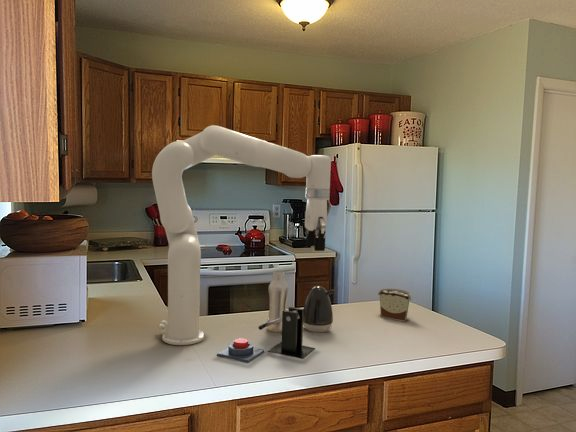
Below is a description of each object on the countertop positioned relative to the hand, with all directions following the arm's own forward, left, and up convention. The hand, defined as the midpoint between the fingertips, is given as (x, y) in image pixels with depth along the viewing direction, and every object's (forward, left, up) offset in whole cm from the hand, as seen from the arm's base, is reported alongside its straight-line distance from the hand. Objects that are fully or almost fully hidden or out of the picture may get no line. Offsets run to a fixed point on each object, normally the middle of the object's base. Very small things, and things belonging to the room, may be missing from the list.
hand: (315, 248), depth 153 cm
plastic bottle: (-11, -4, -28) cm, 31 cm away
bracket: (+1, -18, -28) cm, 34 cm away
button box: (-10, -28, -28) cm, 41 cm away
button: (-10, -28, -25) cm, 39 cm away
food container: (+19, +34, -28) cm, 48 cm away
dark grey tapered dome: (0, +4, -28) cm, 29 cm away
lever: (-2, -19, -20) cm, 28 cm away
